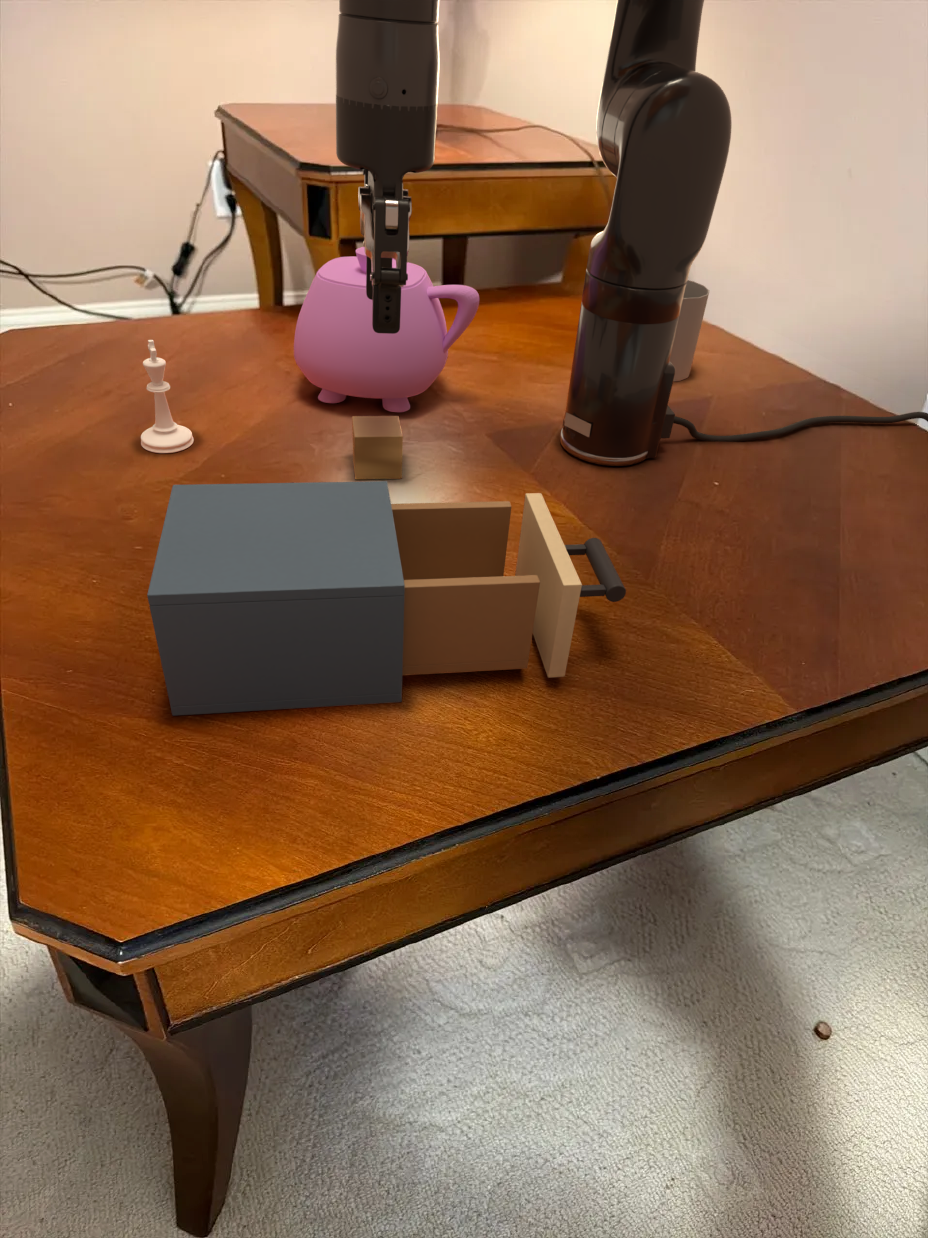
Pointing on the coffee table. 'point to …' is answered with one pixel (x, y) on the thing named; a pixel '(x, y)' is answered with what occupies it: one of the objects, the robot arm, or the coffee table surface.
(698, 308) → the cup
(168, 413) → the chess piece
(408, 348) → the teapot
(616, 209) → the robot arm
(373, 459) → the block
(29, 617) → the coffee table surface
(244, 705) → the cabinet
